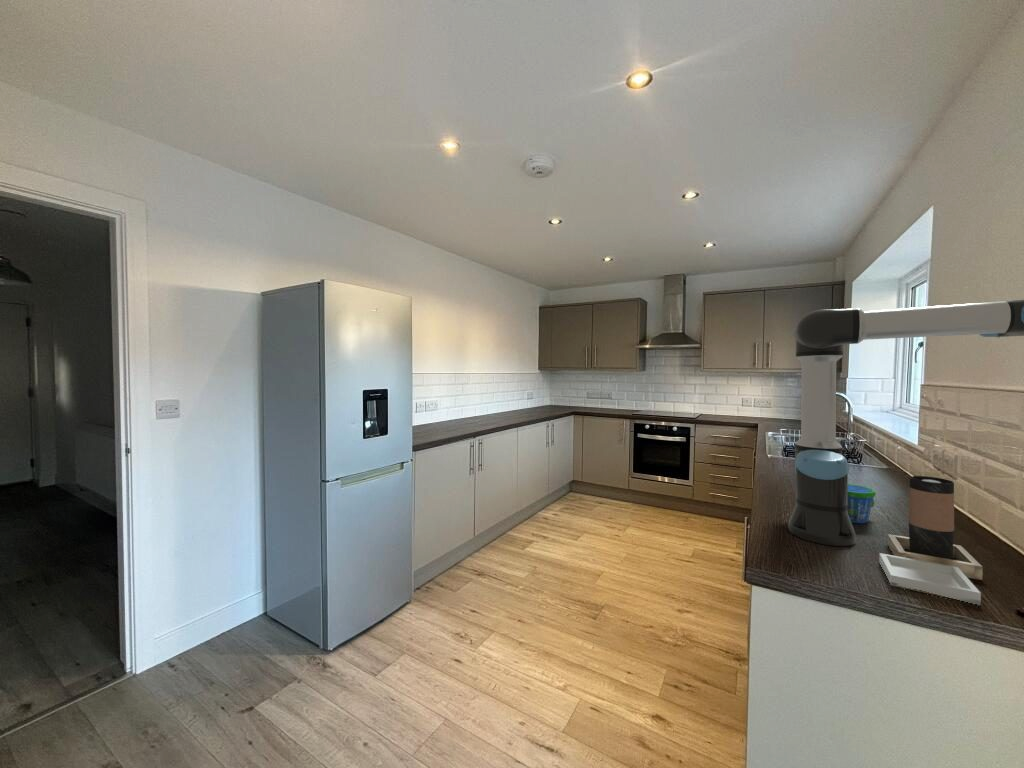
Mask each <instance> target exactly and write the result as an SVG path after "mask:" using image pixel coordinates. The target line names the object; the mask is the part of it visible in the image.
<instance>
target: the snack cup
mask: <svg viewBox="0 0 1024 768" xmlns="http://www.w3.org/2000/svg"><path fill="white" fill-rule="evenodd" d="M876 495H877V494H876V491H875V490H874V489H873V488H869V487H867V486H862V485H858V484H857V485H856V484H849V483H848V505H847V509H848V515H849V518H850V520H851V523H852V524H866V523H868V522H869V519H870V516H871V510H872V508H873V507H874V506H875V500H874V497H875V496H876Z"/></svg>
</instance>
